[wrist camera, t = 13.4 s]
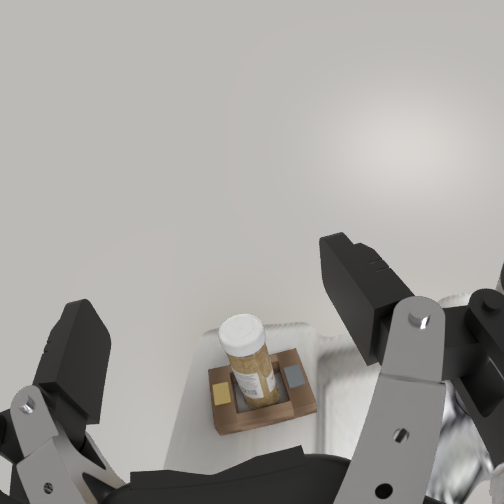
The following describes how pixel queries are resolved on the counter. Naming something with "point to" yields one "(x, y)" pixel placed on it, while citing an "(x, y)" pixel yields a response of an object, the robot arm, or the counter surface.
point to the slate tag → (294, 376)
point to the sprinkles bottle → (249, 359)
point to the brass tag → (221, 394)
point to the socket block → (297, 406)
